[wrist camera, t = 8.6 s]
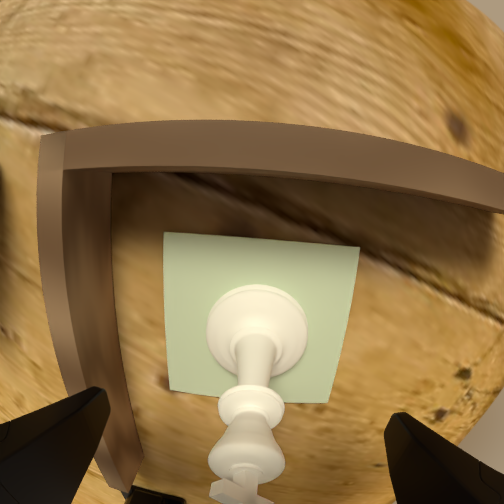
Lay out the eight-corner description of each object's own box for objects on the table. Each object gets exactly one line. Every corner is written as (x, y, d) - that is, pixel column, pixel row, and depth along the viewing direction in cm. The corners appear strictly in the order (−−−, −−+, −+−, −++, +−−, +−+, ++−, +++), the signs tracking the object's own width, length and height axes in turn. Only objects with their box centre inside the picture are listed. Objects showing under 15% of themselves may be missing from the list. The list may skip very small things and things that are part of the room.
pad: (326, 400, 15) (327, 402, 15) (170, 387, 15) (170, 389, 15) (358, 246, 13) (360, 247, 13) (165, 231, 13) (163, 232, 13)
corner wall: (401, 464, 16) (415, 498, 12) (126, 451, 17) (109, 486, 13) (493, 186, 12) (541, 189, 8) (90, 145, 12) (40, 135, 9)
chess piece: (253, 387, 14) (239, 559, 5) (186, 326, 14) (94, 494, 4) (328, 334, 14) (391, 514, 4) (260, 262, 13) (244, 441, 3)
